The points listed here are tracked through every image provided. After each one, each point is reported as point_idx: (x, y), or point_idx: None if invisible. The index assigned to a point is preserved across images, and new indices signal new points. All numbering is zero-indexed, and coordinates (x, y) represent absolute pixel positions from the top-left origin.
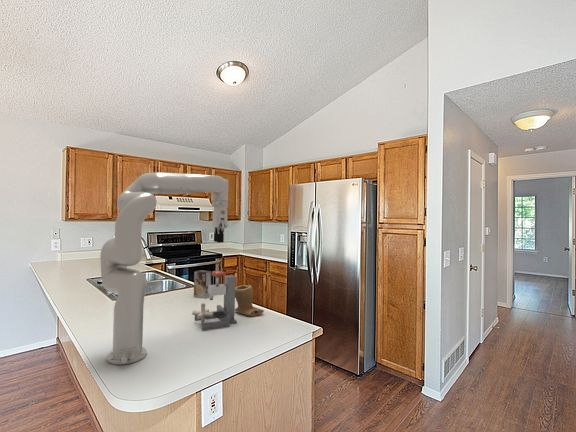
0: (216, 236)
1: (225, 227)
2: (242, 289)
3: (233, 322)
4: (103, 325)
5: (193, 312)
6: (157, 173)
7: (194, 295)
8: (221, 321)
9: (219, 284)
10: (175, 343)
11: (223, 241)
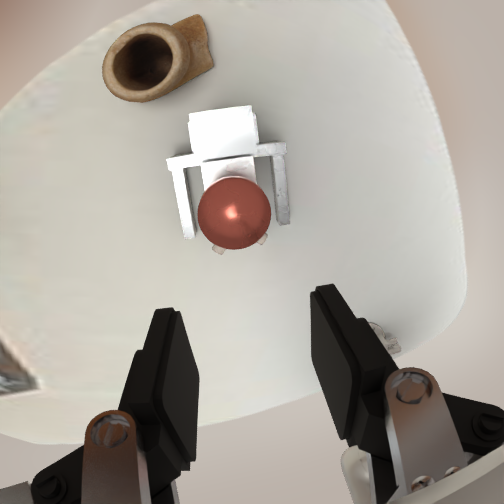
0: (188, 411)
1: (497, 458)
2: (177, 67)
3: (256, 124)
4: None
5: (223, 251)
6: None
7: None
8: (283, 168)
9: (209, 183)
10: (338, 280)
11: (334, 287)
